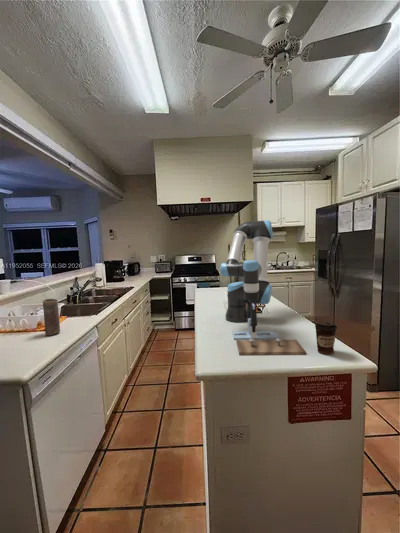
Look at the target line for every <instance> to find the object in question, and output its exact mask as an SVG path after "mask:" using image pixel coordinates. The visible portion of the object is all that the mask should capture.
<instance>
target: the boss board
mask: <svg viewBox="0 0 400 533" xmlns="http://www.w3.org/2000/svg"><path fill="white" fill-rule="evenodd" d="M236 346H237V350H238V354H239V356H269V355H271V356H272V355H273V356H275V355H276V356H278V355H280V356H281V355H283V356H284V355H285V356H286V355H288V356H289V355H293V356H294V355H306V354H307V352H306V350H305V349H304V348H303V346H302V345H301V344H300V343H299V342H298V340H297V339H282V338H277V339H258V340H255V339H249V340H236Z"/></svg>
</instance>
